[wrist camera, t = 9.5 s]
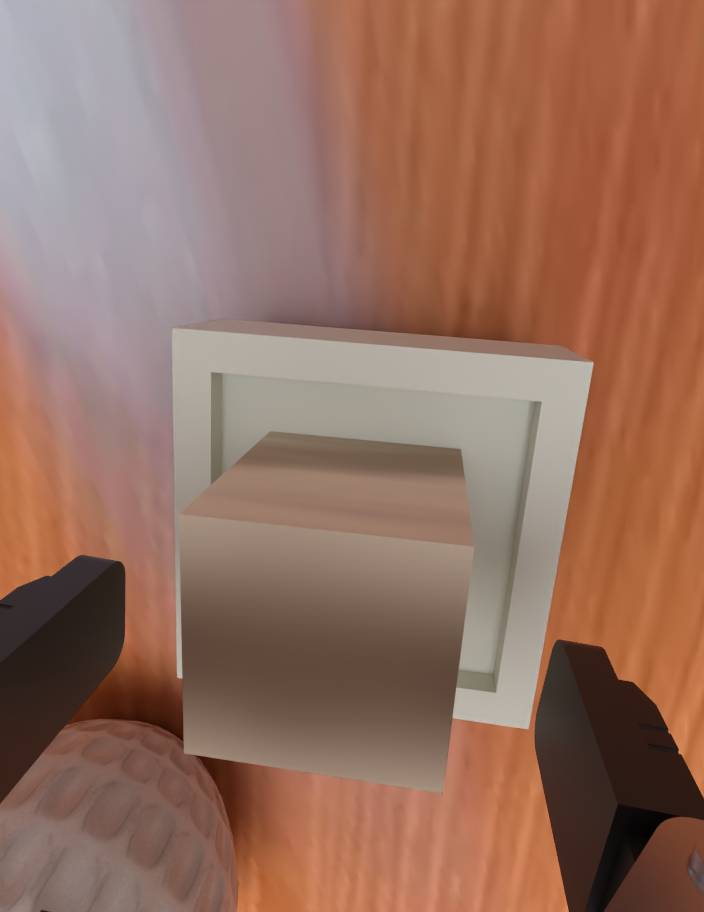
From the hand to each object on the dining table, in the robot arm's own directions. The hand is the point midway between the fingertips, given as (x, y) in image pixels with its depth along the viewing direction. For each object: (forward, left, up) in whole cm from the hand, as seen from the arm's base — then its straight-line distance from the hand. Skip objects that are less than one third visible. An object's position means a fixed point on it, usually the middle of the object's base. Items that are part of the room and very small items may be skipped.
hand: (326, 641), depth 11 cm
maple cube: (0, 0, -6) cm, 6 cm away
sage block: (0, 0, -9) cm, 9 cm away
